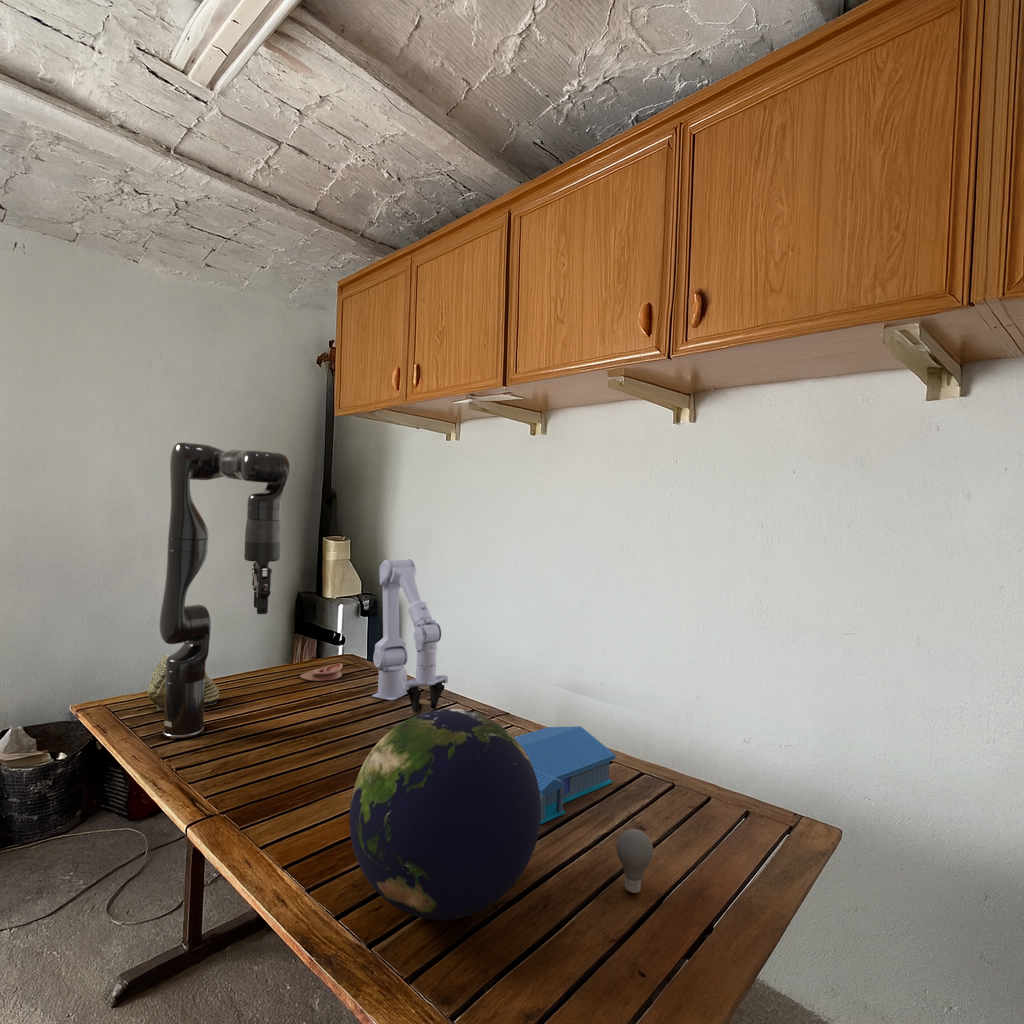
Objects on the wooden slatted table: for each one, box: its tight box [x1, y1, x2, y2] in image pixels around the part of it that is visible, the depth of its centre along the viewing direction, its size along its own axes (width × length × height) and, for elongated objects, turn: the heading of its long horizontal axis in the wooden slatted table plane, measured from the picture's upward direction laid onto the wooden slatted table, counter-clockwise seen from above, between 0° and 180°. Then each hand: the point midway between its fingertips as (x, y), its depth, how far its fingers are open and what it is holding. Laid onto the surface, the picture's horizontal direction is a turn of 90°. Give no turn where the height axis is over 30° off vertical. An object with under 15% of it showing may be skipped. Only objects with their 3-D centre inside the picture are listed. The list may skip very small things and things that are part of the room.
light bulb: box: [615, 828, 654, 894], centre depth 106 cm, size 6×6×10 cm
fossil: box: [147, 654, 221, 712], centre depth 185 cm, size 9×18×15 cm, turn 132°
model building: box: [513, 725, 616, 825], centre depth 140 cm, size 39×24×10 cm, turn 132°
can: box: [417, 699, 432, 715], centre depth 187 cm, size 4×4×4 cm
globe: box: [349, 708, 541, 921], centre depth 100 cm, size 30×30×30 cm
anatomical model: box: [299, 662, 344, 682], centre depth 220 cm, size 13×4×12 cm
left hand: (260, 610), depth 144 cm, fingers open, 8 cm apart
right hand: (424, 710), depth 187 cm, fingers open, 5 cm apart
